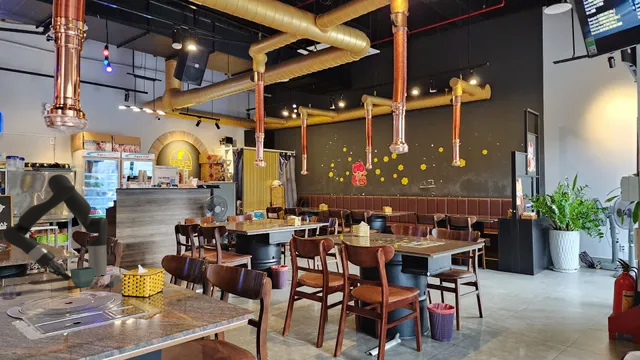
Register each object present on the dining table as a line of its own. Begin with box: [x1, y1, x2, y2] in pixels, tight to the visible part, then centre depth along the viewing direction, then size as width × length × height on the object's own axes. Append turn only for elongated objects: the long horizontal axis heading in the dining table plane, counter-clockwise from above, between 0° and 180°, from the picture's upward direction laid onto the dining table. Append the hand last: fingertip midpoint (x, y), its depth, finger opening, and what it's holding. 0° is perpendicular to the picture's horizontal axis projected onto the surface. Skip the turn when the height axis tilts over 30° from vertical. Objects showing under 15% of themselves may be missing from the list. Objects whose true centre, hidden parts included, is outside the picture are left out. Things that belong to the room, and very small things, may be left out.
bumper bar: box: [108, 274, 121, 288], centre depth 212 cm, size 2×16×3 cm, turn 16°
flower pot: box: [69, 266, 96, 288], centre depth 208 cm, size 9×9×9 cm
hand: (69, 279), depth 206 cm, fingers closed
